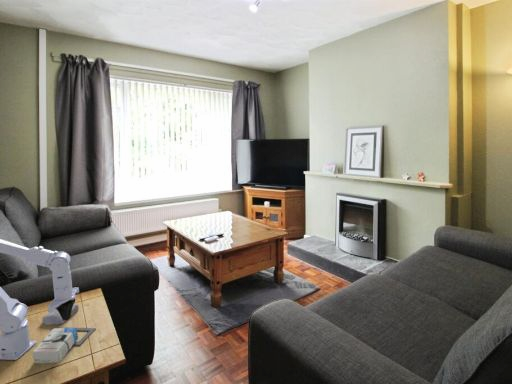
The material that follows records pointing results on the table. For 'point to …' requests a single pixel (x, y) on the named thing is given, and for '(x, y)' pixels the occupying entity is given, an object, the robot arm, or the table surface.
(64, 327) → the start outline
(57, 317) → the stone block
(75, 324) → the table surface
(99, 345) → the table surface
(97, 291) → the table surface
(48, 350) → the ink box
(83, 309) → the table surface
